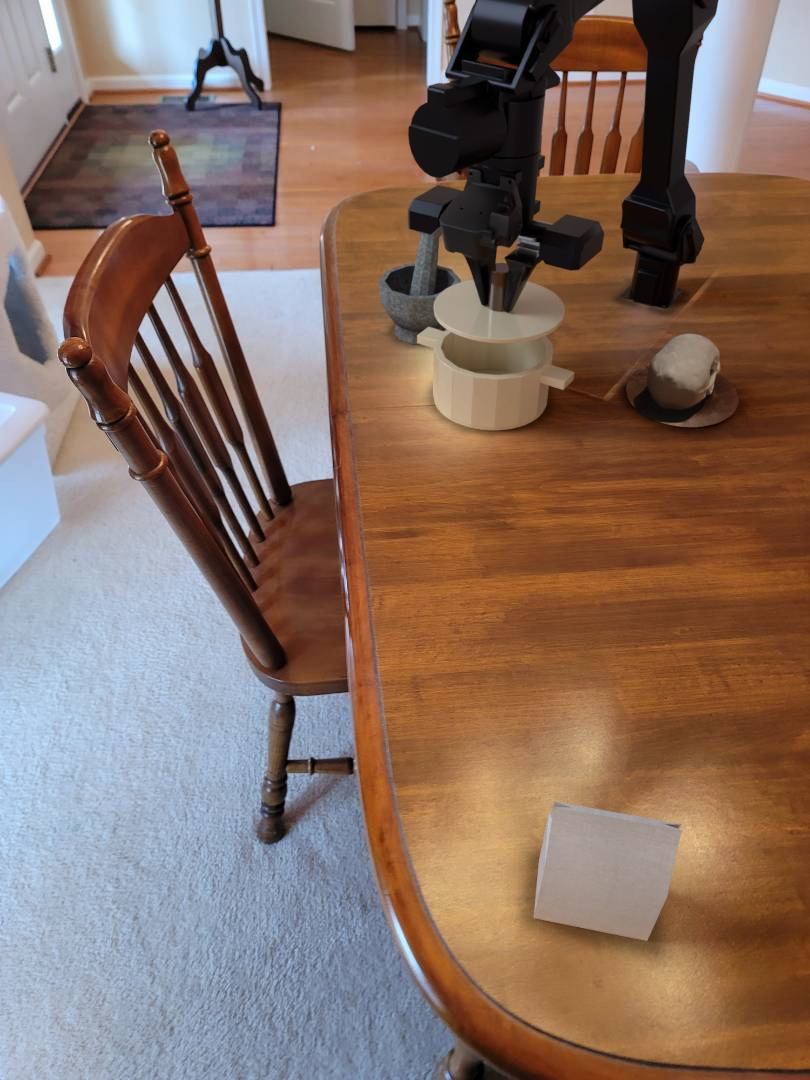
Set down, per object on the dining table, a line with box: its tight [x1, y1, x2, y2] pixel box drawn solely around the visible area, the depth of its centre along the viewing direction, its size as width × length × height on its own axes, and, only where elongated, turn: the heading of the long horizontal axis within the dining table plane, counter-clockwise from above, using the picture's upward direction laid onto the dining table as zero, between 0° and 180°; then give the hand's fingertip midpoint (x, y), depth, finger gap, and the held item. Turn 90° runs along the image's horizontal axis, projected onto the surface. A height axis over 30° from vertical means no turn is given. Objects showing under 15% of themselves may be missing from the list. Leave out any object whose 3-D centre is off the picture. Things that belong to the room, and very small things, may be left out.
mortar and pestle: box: [378, 227, 462, 345], centre depth 101 cm, size 11×9×12 cm
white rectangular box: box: [533, 801, 683, 942], centre depth 48 cm, size 4×7×10 cm, turn 78°
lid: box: [433, 262, 566, 343], centre depth 85 cm, size 14×14×5 cm
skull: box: [625, 333, 740, 428], centre depth 92 cm, size 12×10×10 cm
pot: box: [417, 327, 575, 431], centre depth 91 cm, size 13×18×6 cm
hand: (496, 307), depth 86 cm, fingers closed on lid, 2 cm apart
